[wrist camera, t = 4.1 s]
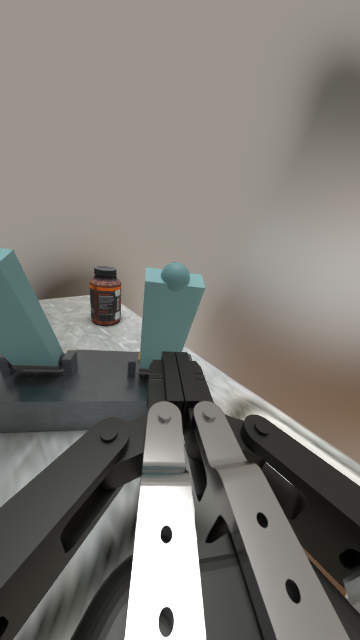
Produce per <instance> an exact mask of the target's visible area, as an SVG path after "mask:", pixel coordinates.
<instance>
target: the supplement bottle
mask: <svg viewBox="0 0 360 640" xmlns="http://www.w3.org/2000/svg"><path fill="white" fill-rule="evenodd" d="M94 273H95V276H94V277H93V278H91V279H90V303H91V317H92V321H93V322H95V323H97V324H100V325H111V324H115V323H117V322H119V321H120V317H121V282H120V280H119V279H117V277H116V269H115V268H113V267H107V266H96V267H95V268H94Z"/></svg>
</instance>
